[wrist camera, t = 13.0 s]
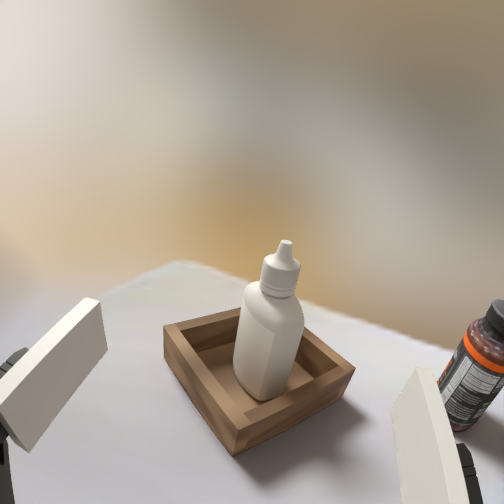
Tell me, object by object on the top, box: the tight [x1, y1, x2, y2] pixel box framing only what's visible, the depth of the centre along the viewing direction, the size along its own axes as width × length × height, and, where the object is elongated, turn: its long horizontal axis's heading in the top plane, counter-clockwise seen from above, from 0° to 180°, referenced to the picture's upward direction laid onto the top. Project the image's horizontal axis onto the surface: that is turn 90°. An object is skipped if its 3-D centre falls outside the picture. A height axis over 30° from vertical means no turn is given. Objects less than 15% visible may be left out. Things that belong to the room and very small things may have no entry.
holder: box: [163, 307, 356, 456], centre depth 24 cm, size 11×11×4 cm
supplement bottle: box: [437, 300, 504, 431], centre depth 20 cm, size 6×6×11 cm
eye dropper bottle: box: [233, 240, 304, 401], centre depth 22 cm, size 4×6×12 cm
